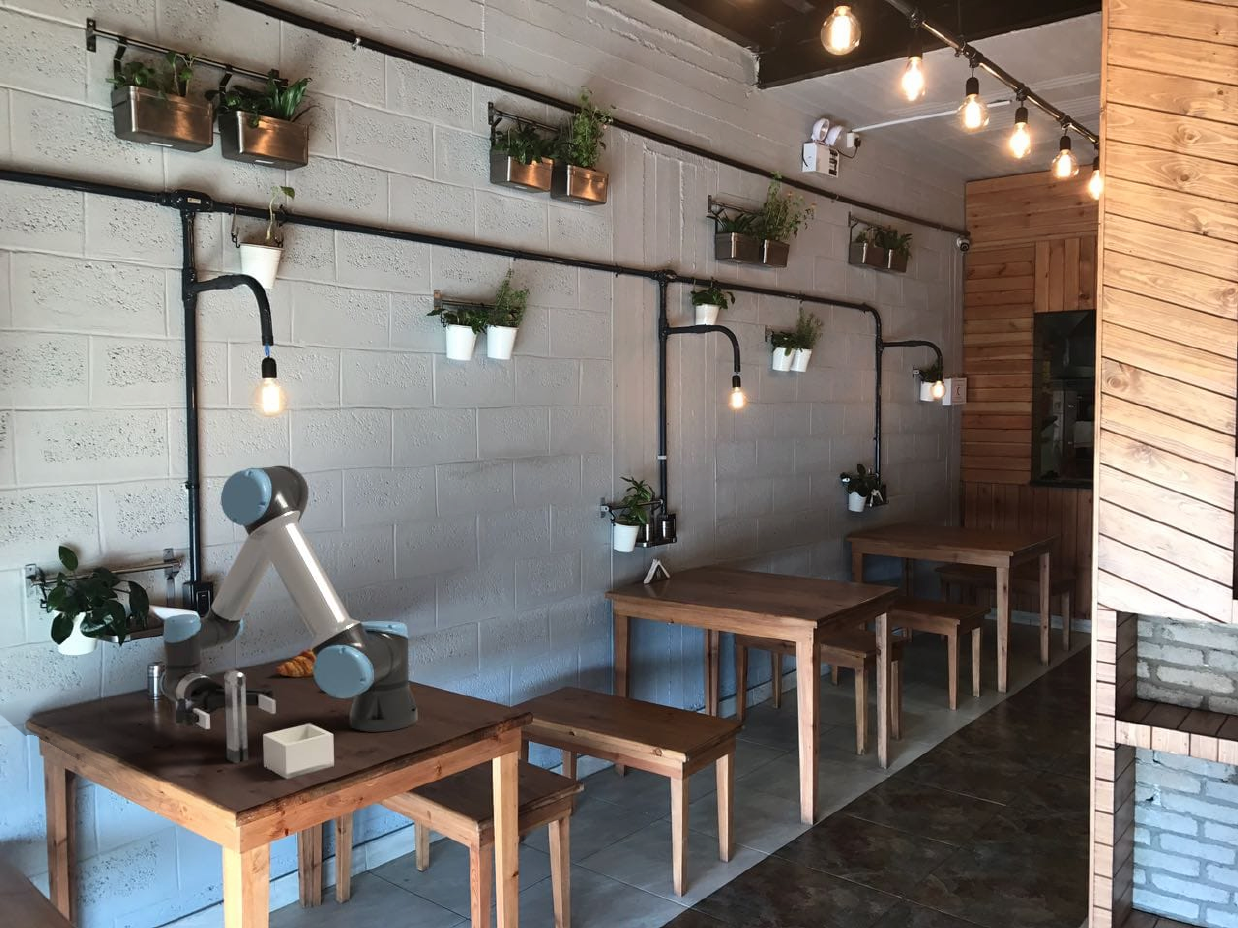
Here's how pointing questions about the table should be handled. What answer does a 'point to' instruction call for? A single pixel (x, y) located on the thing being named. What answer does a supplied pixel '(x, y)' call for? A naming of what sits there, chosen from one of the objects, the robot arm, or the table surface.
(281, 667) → the croissant
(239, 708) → the tongs
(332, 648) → the robot arm
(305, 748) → the caddy
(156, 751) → the table surface
